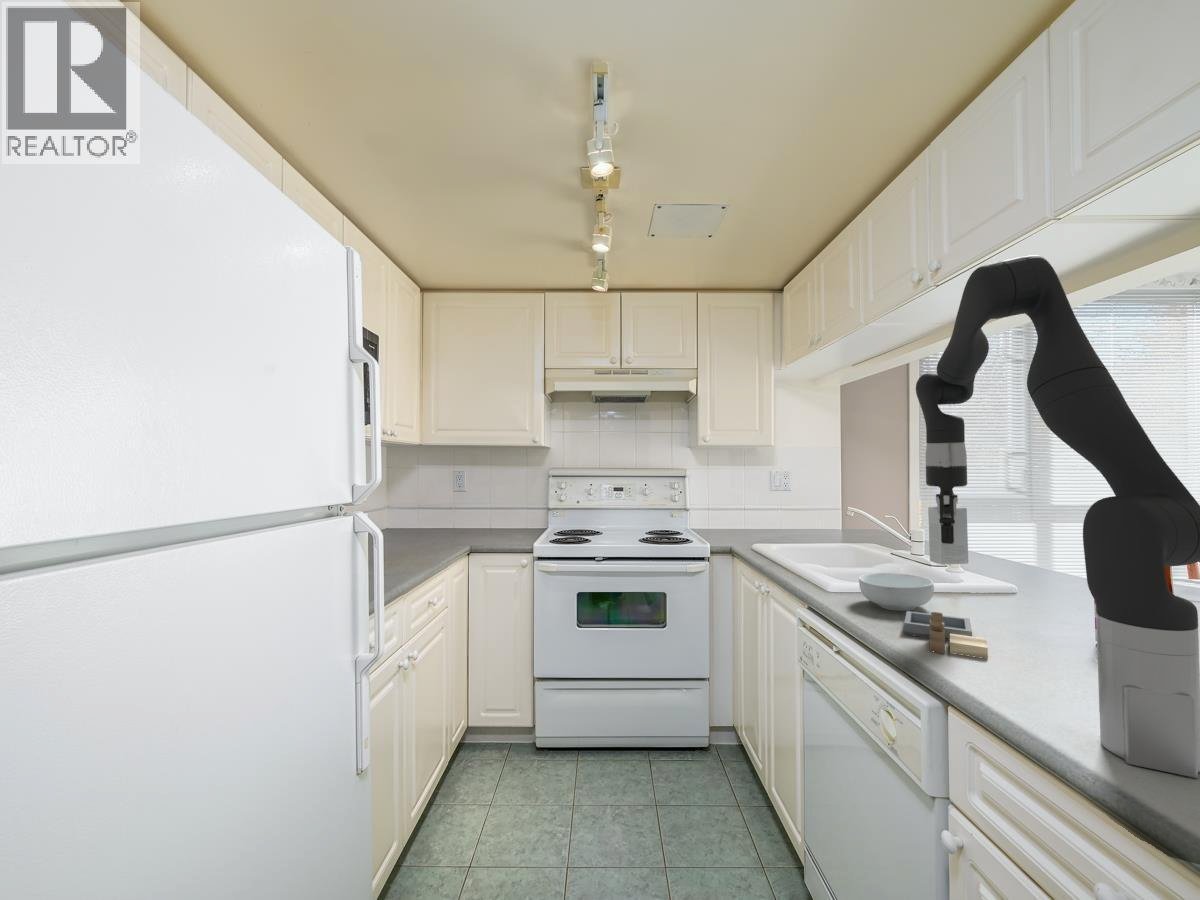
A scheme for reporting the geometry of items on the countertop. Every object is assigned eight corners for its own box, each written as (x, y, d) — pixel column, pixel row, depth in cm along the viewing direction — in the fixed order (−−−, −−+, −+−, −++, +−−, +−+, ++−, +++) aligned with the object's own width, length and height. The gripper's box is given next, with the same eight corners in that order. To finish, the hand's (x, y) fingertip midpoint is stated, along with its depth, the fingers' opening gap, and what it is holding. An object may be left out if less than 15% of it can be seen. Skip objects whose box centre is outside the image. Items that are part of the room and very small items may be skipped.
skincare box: (954, 560, 118) (953, 505, 118) (970, 564, 114) (968, 507, 114) (928, 561, 118) (926, 506, 118) (942, 565, 113) (940, 508, 114)
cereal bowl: (882, 594, 148) (881, 569, 148) (947, 608, 134) (946, 580, 134) (845, 605, 139) (845, 577, 139) (911, 620, 125) (910, 590, 125)
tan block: (987, 661, 101) (987, 647, 101) (950, 654, 104) (949, 642, 104) (986, 651, 106) (986, 638, 106) (950, 645, 109) (949, 633, 109)
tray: (972, 643, 109) (972, 631, 109) (904, 634, 116) (904, 622, 116) (969, 629, 118) (969, 618, 118) (906, 621, 124) (906, 611, 124)
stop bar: (945, 653, 104) (944, 622, 104) (930, 651, 105) (929, 621, 105) (944, 641, 111) (943, 612, 111) (930, 639, 112) (929, 610, 112)
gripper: (926, 463, 124) (928, 535, 124) (924, 465, 112) (926, 544, 112) (966, 463, 120) (967, 537, 120) (967, 465, 108) (969, 547, 108)
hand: (947, 540), depth 116 cm, fingers closed on skincare box, 6 cm apart
